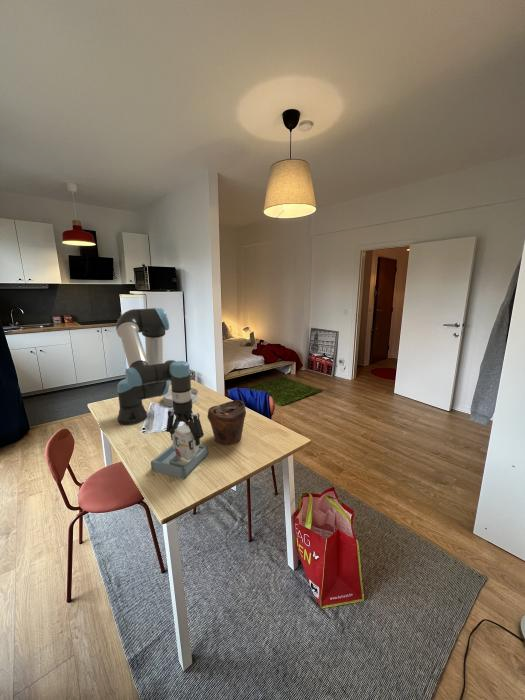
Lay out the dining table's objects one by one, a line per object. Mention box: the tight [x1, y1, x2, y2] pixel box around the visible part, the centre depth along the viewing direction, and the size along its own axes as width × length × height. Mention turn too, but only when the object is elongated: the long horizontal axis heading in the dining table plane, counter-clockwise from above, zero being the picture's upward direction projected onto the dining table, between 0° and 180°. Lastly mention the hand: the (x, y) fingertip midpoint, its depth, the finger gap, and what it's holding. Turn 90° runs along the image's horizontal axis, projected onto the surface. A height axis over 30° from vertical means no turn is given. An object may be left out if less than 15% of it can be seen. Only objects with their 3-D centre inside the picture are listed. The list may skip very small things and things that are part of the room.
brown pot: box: [207, 399, 247, 446], centre depth 140 cm, size 18×20×18 cm
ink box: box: [175, 424, 196, 461], centre depth 120 cm, size 9×5×12 cm, turn 50°
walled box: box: [150, 443, 209, 480], centre depth 123 cm, size 16×18×4 cm
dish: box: [163, 387, 199, 408], centre depth 189 cm, size 22×22×5 cm
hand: (186, 449), depth 121 cm, fingers closed on ink box, 9 cm apart
